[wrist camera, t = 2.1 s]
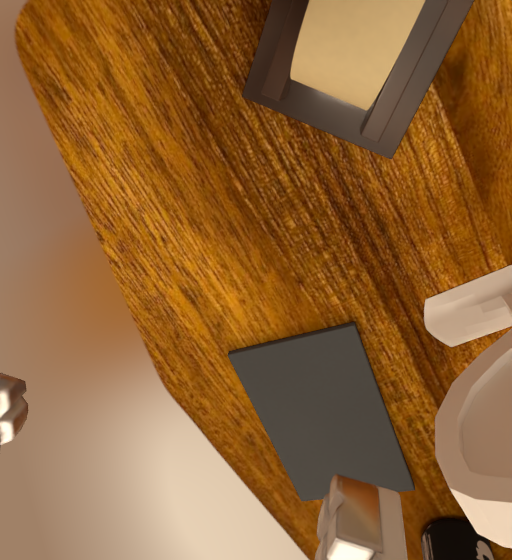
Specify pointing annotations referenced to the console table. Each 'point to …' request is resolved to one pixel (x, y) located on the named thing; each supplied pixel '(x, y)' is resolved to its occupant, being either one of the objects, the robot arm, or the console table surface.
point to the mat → (323, 410)
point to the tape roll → (352, 46)
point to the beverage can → (454, 542)
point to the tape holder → (339, 114)
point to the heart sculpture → (478, 403)
